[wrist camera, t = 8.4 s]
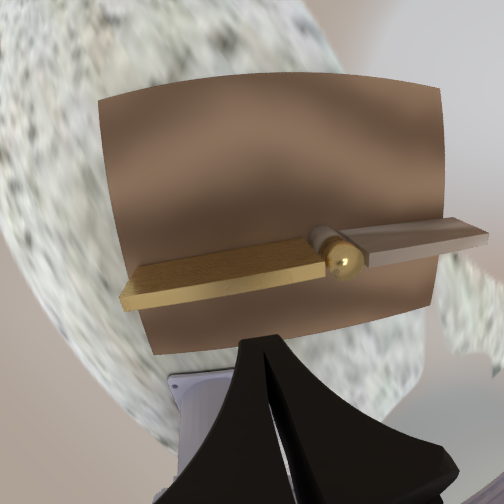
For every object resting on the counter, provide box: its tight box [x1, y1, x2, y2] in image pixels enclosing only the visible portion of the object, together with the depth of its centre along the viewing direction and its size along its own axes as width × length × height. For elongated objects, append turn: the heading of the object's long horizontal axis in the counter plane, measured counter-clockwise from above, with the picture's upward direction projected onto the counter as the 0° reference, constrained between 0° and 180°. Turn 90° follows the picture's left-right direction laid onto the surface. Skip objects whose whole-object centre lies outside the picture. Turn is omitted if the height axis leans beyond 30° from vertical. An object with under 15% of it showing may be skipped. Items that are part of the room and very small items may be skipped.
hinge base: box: [98, 72, 489, 355], centre depth 16 cm, size 17×23×5 cm
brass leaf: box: [119, 236, 364, 312], centre depth 15 cm, size 12×2×4 cm, turn 98°
